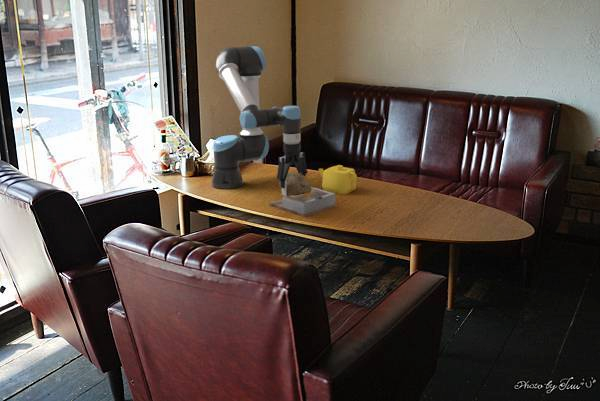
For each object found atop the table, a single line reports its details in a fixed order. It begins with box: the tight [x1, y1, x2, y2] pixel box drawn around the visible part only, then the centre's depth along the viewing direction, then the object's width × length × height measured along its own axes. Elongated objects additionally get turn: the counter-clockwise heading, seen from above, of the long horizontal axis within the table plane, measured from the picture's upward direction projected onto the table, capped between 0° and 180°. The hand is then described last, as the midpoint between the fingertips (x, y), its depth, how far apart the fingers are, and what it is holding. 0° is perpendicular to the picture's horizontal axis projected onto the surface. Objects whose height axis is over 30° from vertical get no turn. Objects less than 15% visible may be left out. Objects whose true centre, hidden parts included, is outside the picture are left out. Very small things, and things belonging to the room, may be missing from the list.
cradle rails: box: [282, 187, 336, 214], centre depth 276 cm, size 14×19×5 cm
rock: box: [277, 171, 312, 197], centre depth 282 cm, size 11×12×10 cm
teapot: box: [318, 164, 358, 195], centre depth 302 cm, size 20×12×12 cm, turn 57°
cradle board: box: [268, 194, 336, 218], centre depth 280 cm, size 22×19×1 cm
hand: (292, 192), depth 283 cm, fingers closed on rock, 9 cm apart
